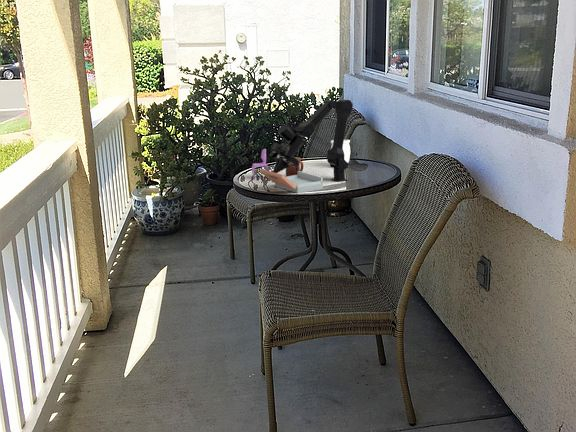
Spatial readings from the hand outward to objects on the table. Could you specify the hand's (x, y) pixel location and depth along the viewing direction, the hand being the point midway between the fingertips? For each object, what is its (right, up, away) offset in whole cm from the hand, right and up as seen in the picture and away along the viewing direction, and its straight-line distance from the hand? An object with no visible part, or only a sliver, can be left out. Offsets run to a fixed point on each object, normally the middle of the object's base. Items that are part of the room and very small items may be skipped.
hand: (273, 173), depth 273 cm
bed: (+12, -6, +9) cm, 16 cm away
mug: (+10, -1, +28) cm, 30 cm away
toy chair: (-7, 0, +35) cm, 36 cm away
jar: (+36, +7, +53) cm, 64 cm away
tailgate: (+5, -5, +4) cm, 8 cm away
